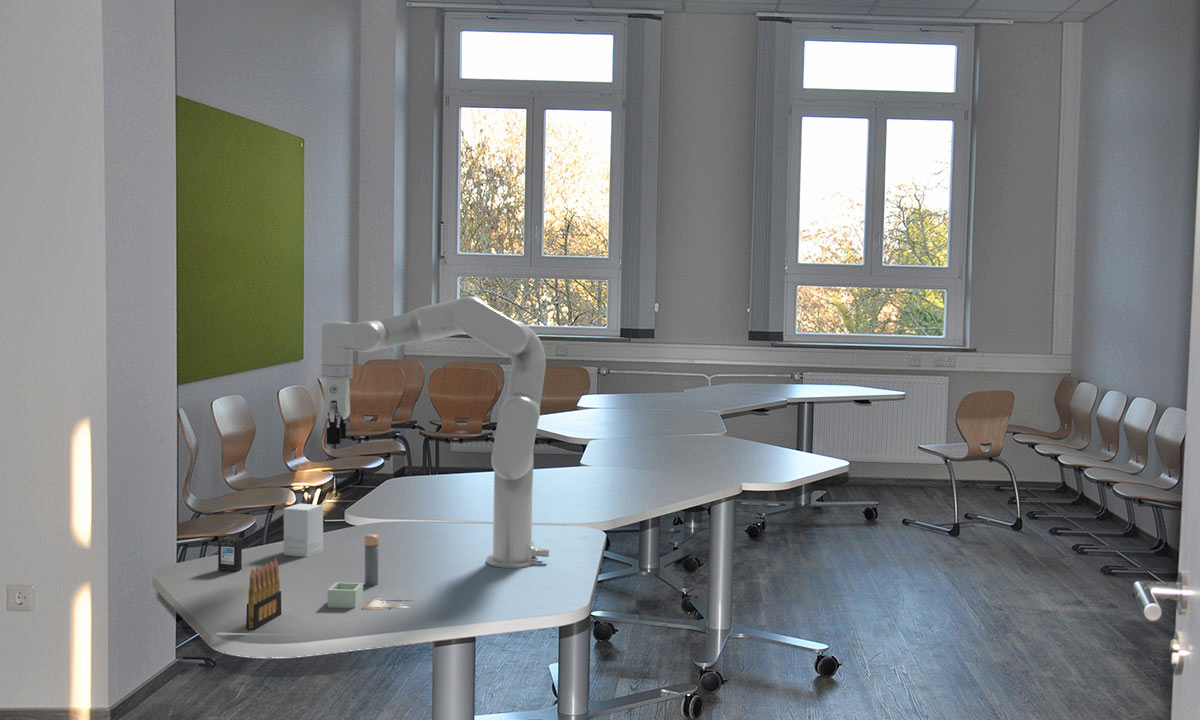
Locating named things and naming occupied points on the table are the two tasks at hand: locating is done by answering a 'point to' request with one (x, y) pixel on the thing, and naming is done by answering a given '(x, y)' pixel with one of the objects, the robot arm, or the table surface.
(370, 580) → the marker
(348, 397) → the robot arm
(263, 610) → the ammunition clip
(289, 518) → the supplement box
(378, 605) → the writing board
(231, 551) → the ink cartridge
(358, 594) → the green open box
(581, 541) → the table surface
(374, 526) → the table surface
